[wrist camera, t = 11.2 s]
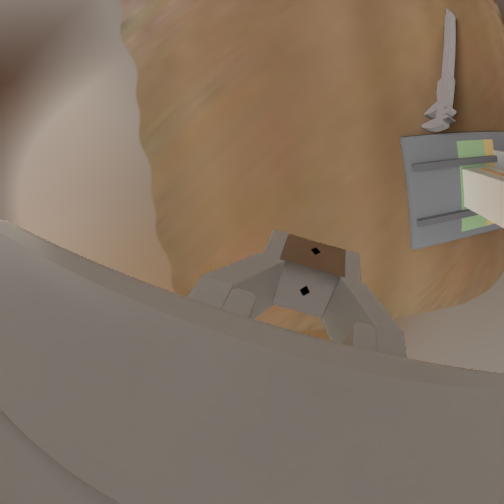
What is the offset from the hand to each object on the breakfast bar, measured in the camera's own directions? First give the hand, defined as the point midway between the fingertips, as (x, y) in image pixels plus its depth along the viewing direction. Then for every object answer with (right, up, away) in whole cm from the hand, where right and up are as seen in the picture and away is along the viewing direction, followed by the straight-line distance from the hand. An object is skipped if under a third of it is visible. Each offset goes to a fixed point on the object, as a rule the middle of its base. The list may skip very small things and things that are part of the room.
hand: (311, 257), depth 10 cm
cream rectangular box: (+27, +9, +17) cm, 33 cm away
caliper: (+21, +24, +13) cm, 35 cm away
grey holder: (+25, +9, +19) cm, 33 cm away
